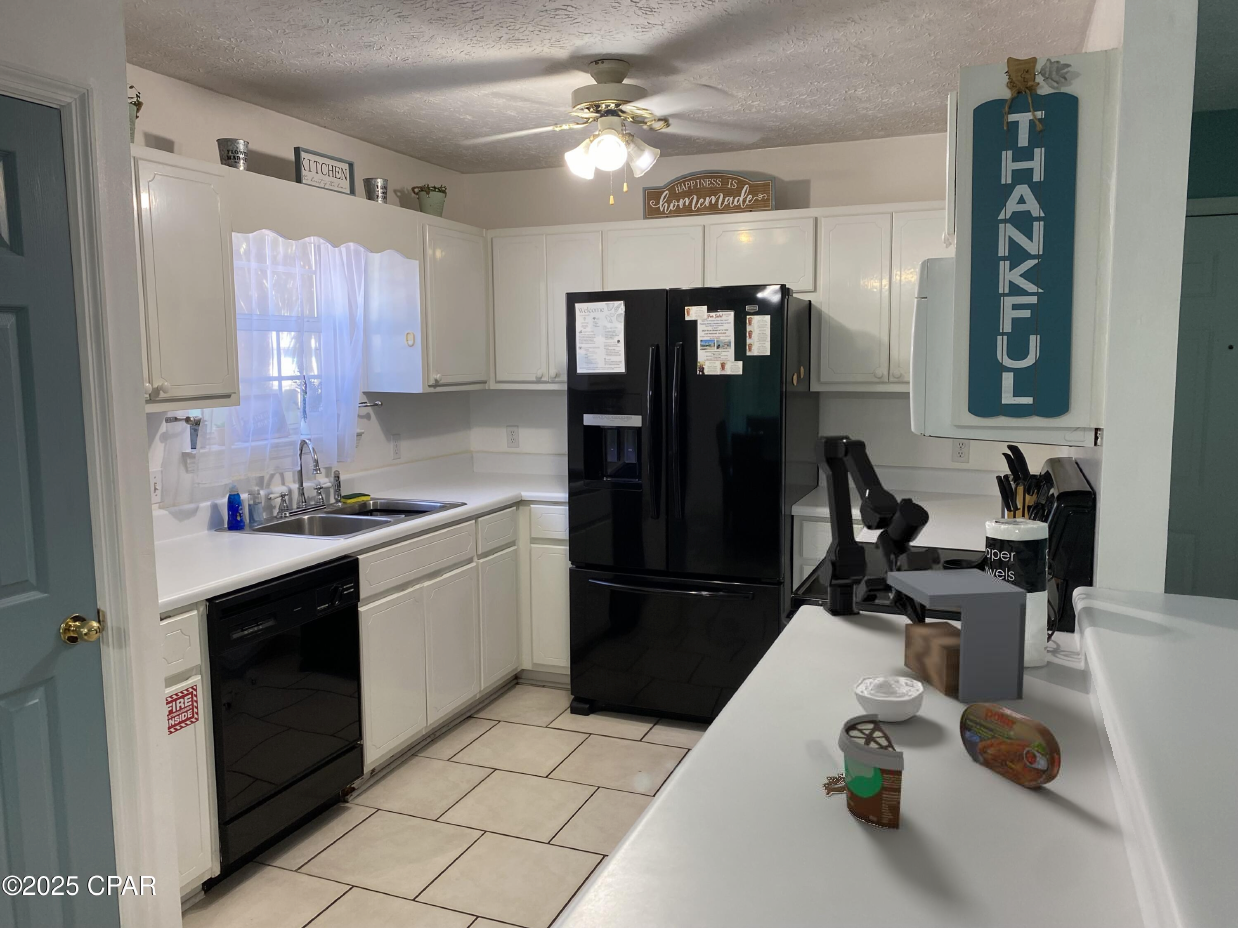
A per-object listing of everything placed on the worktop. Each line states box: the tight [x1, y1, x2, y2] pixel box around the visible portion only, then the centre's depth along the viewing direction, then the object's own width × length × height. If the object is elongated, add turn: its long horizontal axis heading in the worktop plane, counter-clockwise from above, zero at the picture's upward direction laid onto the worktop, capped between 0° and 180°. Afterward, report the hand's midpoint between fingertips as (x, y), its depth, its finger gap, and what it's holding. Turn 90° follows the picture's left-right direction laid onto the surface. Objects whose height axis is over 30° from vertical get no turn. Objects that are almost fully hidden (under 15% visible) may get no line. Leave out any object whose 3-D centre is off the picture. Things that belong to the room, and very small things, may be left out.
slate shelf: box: [886, 568, 1028, 703], centre depth 150 cm, size 16×16×18 cm
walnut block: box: [903, 621, 961, 696], centre depth 153 cm, size 15×8×8 cm, turn 8°
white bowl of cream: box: [853, 674, 925, 723], centre depth 137 cm, size 10×12×7 cm
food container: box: [837, 713, 905, 830], centre depth 109 cm, size 12×6×10 cm, turn 178°
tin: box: [959, 702, 1062, 789], centre depth 118 cm, size 15×3×8 cm, turn 23°
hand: (922, 628), depth 161 cm, fingers closed
